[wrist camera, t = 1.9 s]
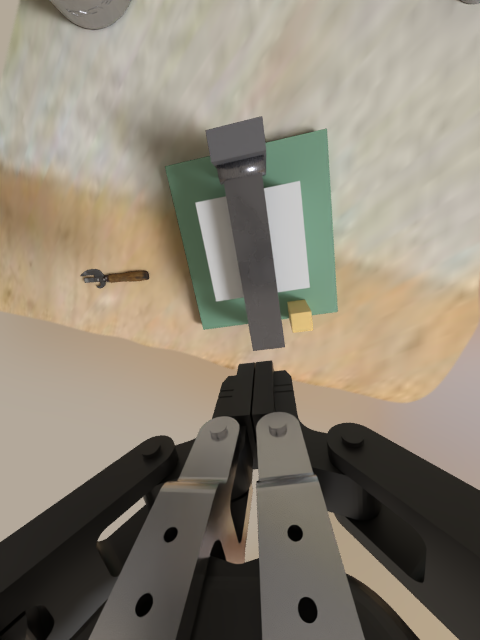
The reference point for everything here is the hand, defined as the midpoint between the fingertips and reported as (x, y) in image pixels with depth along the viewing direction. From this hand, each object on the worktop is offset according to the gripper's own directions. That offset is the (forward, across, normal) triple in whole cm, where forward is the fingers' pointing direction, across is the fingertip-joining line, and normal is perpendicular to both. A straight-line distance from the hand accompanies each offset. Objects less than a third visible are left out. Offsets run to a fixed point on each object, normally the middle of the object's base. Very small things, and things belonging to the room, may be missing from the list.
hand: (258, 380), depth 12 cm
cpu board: (+20, 0, -5) cm, 21 cm away
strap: (+18, 0, -4) cm, 18 cm away
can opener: (+21, +18, -4) cm, 28 cm away
